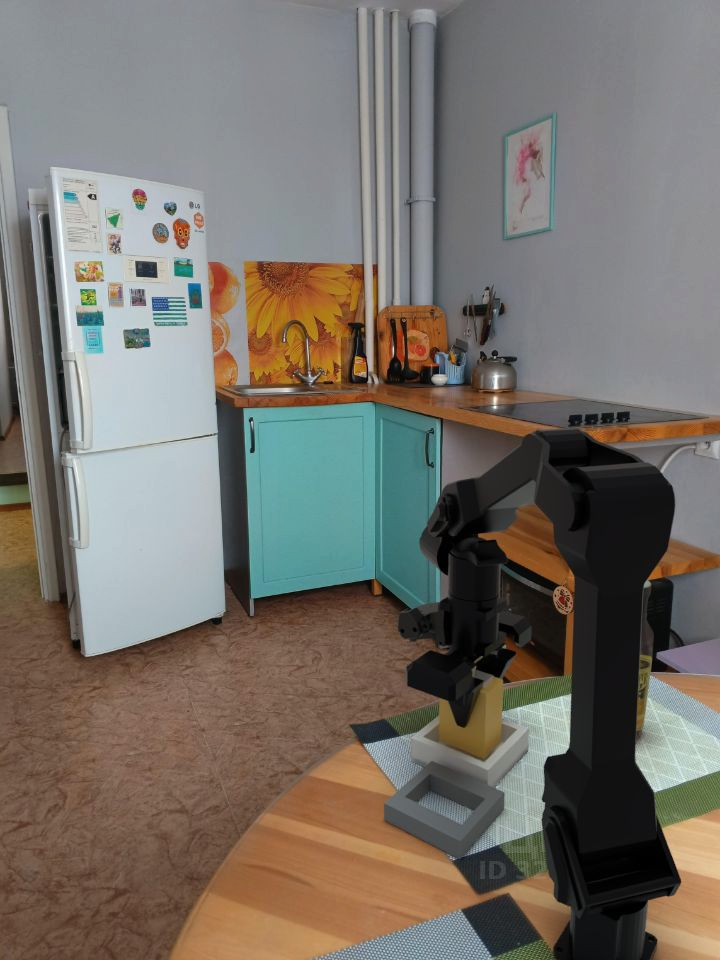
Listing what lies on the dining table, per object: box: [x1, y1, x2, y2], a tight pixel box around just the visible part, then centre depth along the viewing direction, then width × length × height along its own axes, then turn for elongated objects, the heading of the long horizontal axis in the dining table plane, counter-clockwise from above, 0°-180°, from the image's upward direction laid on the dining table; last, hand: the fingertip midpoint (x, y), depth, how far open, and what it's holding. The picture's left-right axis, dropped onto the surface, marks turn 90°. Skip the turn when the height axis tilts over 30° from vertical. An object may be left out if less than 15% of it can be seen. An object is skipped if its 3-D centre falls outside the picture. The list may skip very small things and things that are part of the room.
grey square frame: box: [383, 761, 506, 860], centre depth 74 cm, size 9×9×2 cm
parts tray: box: [410, 715, 530, 788], centre depth 84 cm, size 10×10×3 cm
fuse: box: [438, 670, 504, 758], centre depth 83 cm, size 4×6×9 cm, turn 52°
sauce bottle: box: [636, 579, 655, 741], centre depth 87 cm, size 7×6×20 cm
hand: (470, 717), depth 83 cm, fingers closed on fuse, 4 cm apart
